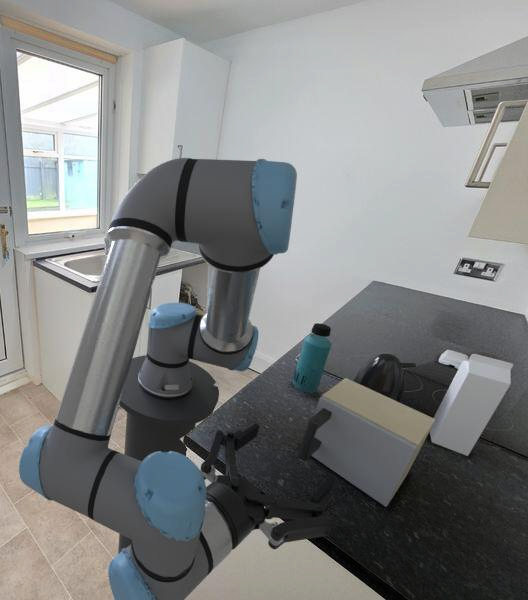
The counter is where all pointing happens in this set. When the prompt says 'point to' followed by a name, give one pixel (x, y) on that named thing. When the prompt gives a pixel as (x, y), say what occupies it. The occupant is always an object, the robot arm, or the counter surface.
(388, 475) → the oven door
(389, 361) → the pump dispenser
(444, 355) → the soap
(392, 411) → the oven
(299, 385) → the beverage bottle
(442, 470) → the counter surface
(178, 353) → the robot arm
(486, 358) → the milk
